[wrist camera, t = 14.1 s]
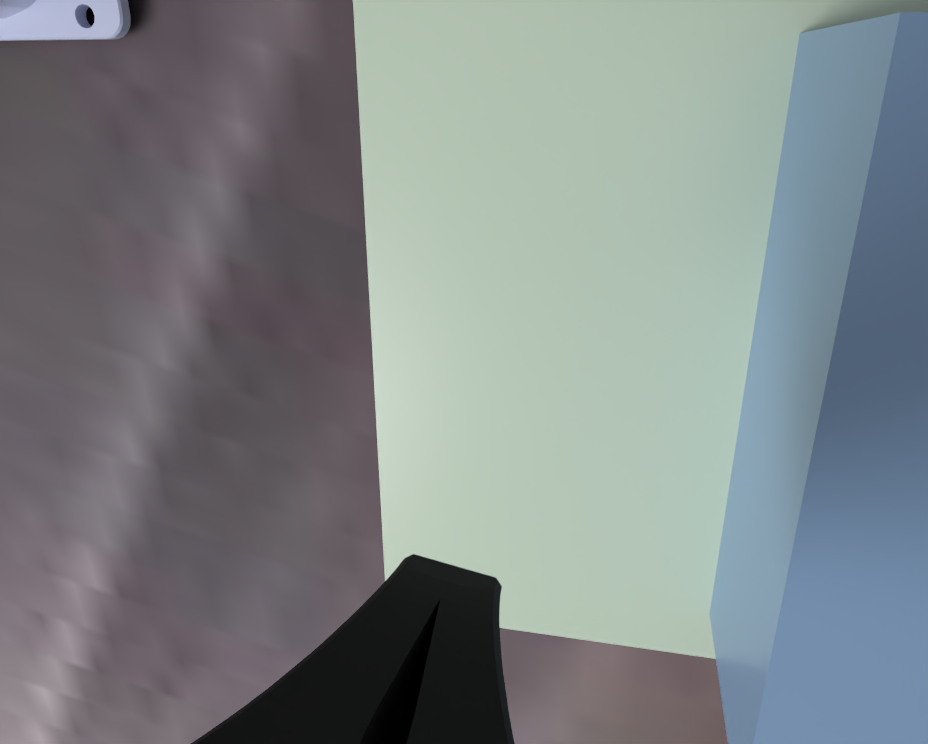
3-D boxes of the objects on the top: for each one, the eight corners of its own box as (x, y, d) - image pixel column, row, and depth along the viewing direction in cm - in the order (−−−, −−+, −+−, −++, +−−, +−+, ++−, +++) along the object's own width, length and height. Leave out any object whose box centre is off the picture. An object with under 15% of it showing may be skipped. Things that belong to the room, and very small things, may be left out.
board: (396, 590, 23) (386, 611, 22) (325, -871, 12) (300, -947, 11) (934, 664, 20) (948, 692, 19) (1511, -1185, 9) (1609, -1324, 8)
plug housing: (709, 613, 20) (738, 817, 15) (799, 33, 15) (900, 12, 9) (909, 640, 19) (1021, 868, 14) (1088, 29, 14) (1393, 3, 8)
